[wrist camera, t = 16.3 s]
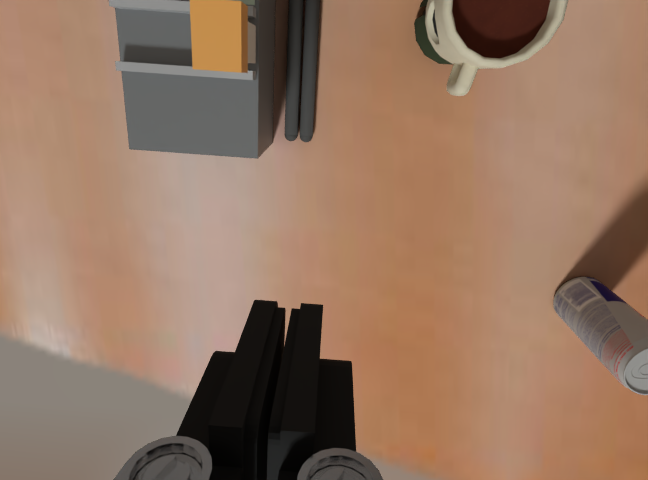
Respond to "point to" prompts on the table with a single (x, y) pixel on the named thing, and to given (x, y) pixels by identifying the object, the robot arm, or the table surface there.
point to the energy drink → (607, 329)
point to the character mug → (485, 34)
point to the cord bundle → (295, 64)
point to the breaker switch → (221, 36)
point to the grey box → (192, 83)
